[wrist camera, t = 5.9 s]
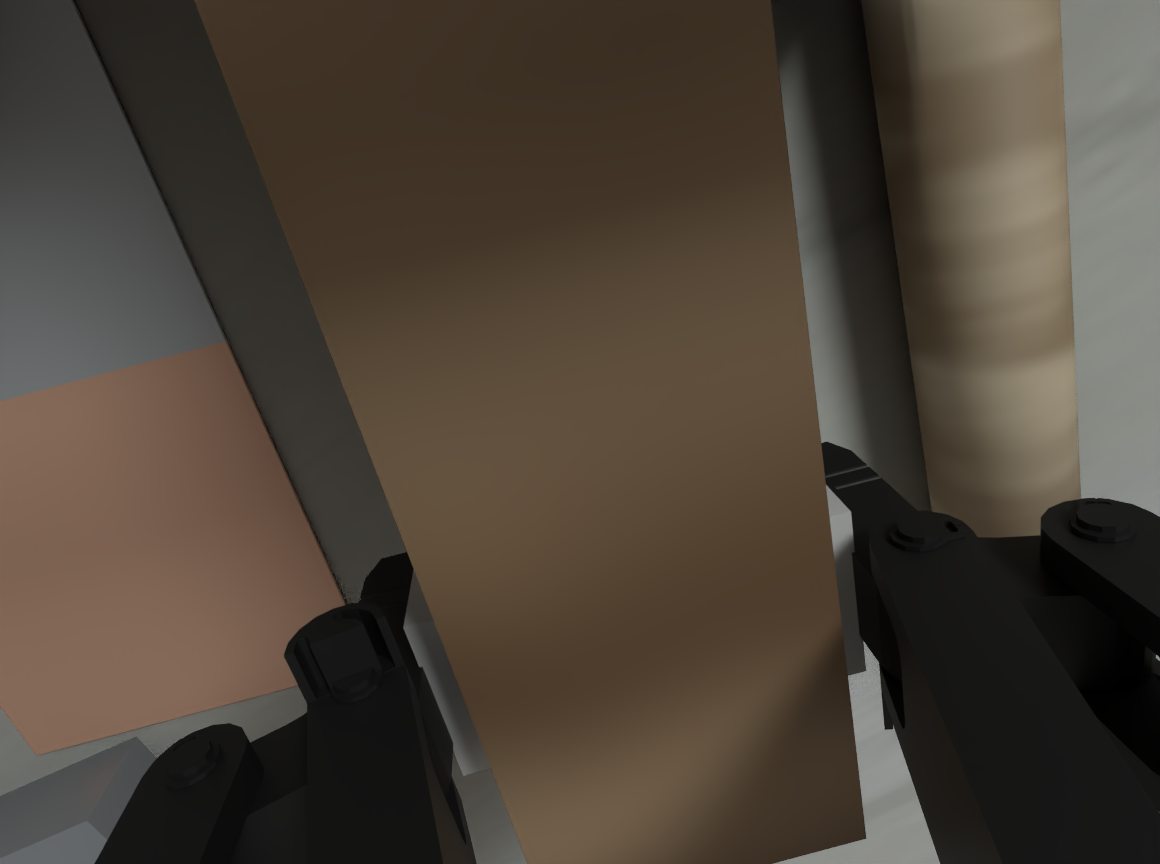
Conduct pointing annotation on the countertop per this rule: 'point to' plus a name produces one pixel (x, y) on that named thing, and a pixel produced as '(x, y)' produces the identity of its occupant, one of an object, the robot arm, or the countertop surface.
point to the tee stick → (71, 808)
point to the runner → (123, 431)
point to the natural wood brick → (580, 393)
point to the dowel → (982, 248)
